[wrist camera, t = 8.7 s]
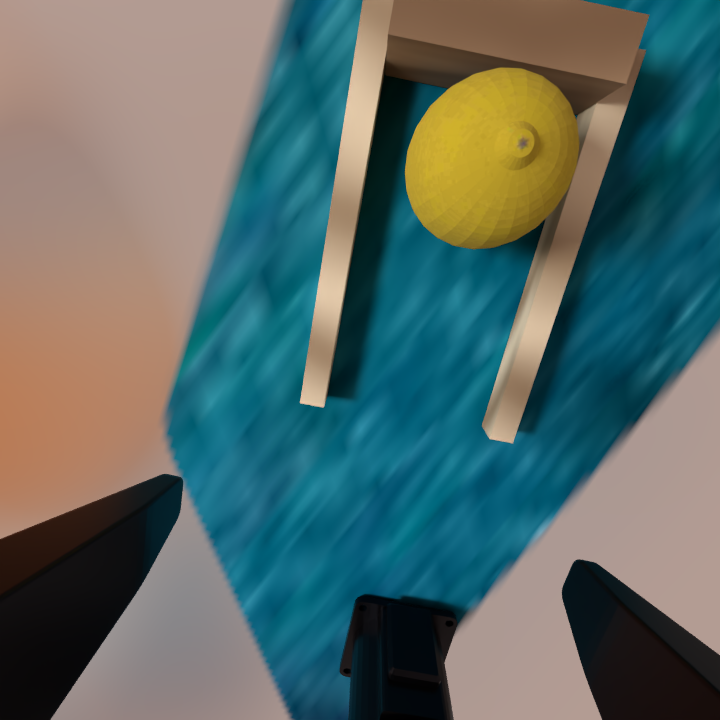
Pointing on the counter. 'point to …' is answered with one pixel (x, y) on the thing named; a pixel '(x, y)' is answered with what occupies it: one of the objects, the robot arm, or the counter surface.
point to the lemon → (492, 158)
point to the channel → (446, 68)
